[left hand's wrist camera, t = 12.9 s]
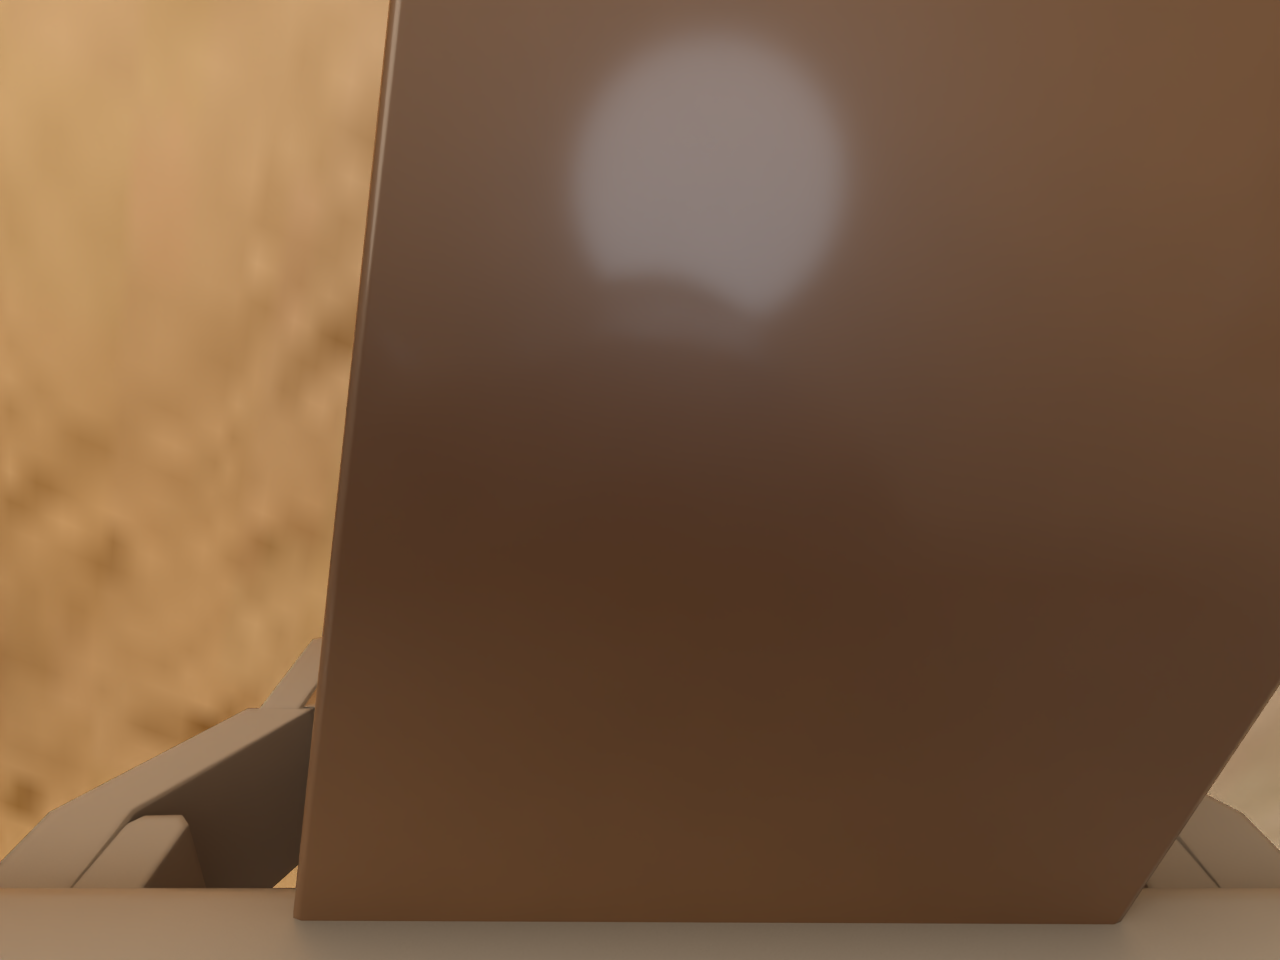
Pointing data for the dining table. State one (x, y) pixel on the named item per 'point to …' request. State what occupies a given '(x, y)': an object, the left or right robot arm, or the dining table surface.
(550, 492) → the bar
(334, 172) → the dining table surface
